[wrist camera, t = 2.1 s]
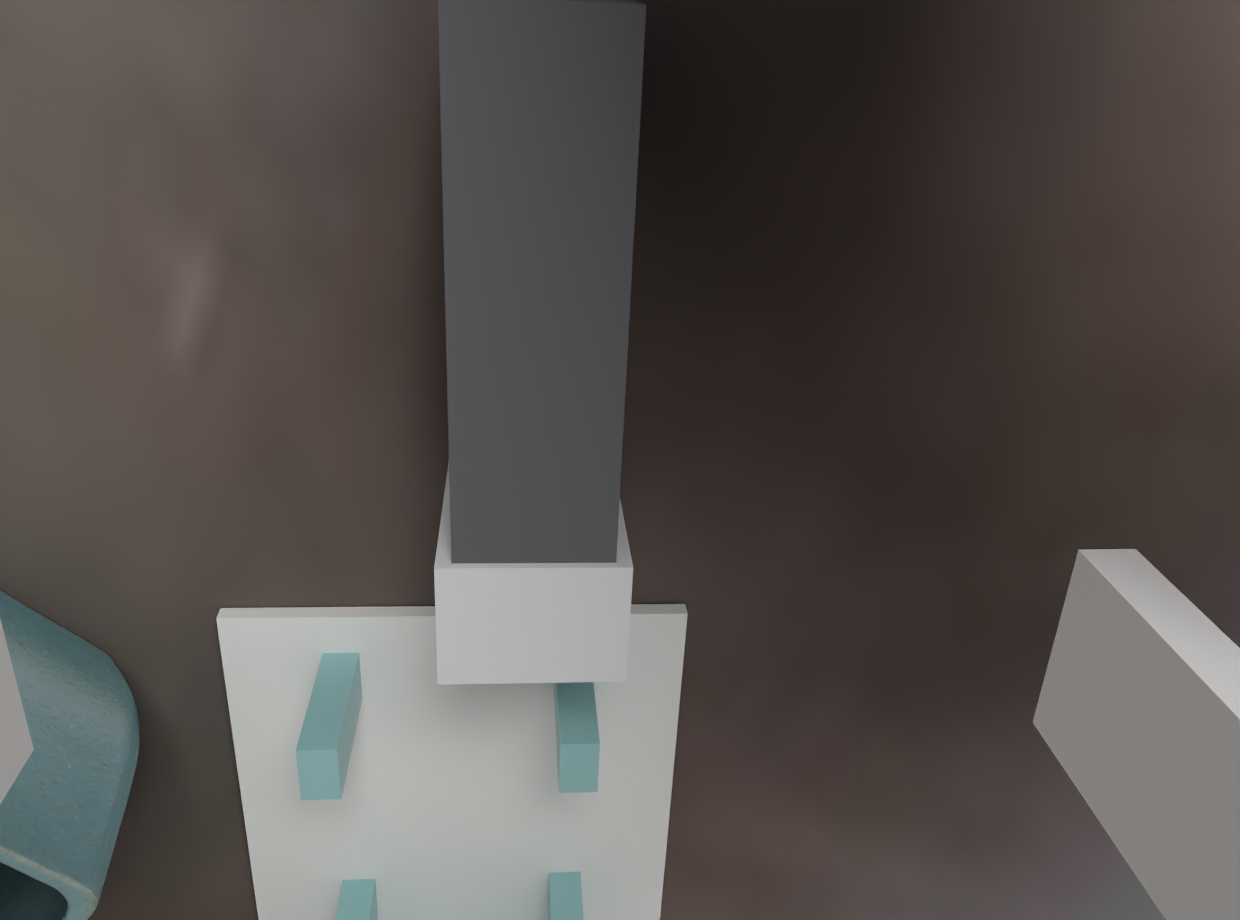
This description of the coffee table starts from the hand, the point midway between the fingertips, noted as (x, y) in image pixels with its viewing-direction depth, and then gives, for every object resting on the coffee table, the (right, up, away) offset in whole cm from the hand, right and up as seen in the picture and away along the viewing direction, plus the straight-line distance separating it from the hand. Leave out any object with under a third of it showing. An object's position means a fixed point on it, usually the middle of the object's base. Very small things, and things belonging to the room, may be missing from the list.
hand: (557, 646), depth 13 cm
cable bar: (-1, +6, +13) cm, 15 cm away
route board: (-4, -10, +20) cm, 23 cm away
